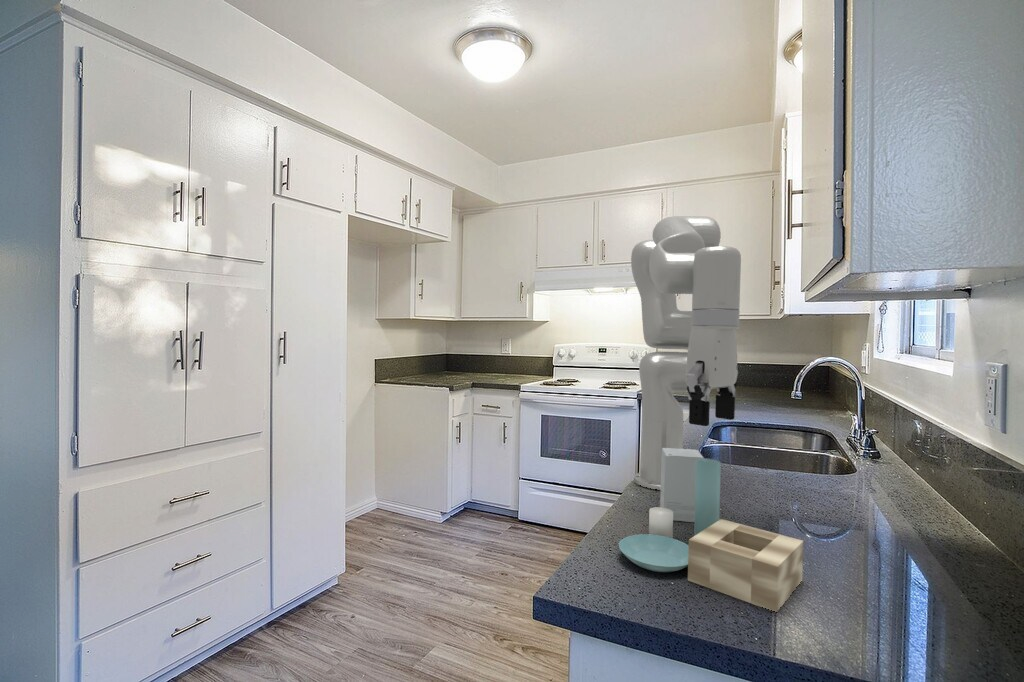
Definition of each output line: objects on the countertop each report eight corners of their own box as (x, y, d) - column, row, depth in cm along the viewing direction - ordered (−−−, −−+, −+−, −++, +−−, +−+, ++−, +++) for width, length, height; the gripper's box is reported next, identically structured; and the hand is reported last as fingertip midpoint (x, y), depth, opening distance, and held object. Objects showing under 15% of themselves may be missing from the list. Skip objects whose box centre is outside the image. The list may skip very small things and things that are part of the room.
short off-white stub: (655, 533, 93) (656, 505, 93) (676, 539, 90) (677, 511, 90) (644, 539, 90) (645, 510, 90) (665, 546, 87) (666, 516, 87)
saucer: (694, 552, 85) (694, 539, 85) (698, 586, 74) (699, 570, 74) (621, 543, 88) (621, 530, 88) (615, 574, 77) (615, 558, 77)
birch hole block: (720, 555, 84) (721, 518, 84) (802, 581, 75) (803, 540, 75) (687, 580, 75) (688, 539, 75) (776, 612, 67) (777, 566, 67)
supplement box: (703, 523, 98) (704, 457, 97) (662, 520, 99) (664, 455, 99) (697, 510, 105) (698, 449, 105) (659, 507, 106) (660, 446, 106)
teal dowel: (699, 534, 92) (701, 457, 92) (722, 541, 89) (724, 461, 89) (690, 541, 89) (692, 461, 89) (712, 548, 86) (715, 465, 86)
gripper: (716, 322, 96) (713, 413, 96) (668, 319, 84) (666, 424, 84) (757, 322, 90) (754, 419, 91) (713, 319, 78) (710, 431, 79)
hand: (712, 421), depth 87 cm, fingers open, 9 cm apart
